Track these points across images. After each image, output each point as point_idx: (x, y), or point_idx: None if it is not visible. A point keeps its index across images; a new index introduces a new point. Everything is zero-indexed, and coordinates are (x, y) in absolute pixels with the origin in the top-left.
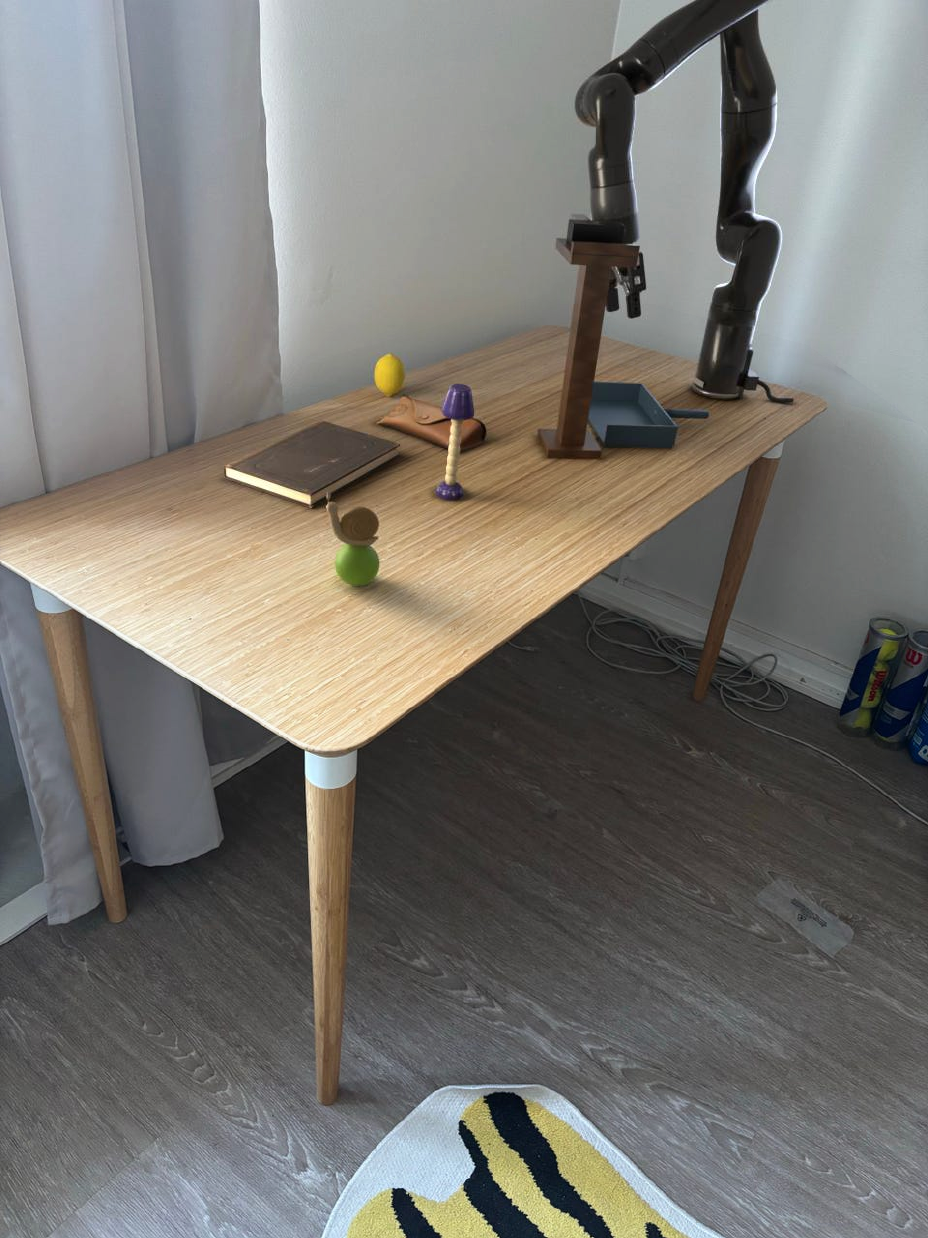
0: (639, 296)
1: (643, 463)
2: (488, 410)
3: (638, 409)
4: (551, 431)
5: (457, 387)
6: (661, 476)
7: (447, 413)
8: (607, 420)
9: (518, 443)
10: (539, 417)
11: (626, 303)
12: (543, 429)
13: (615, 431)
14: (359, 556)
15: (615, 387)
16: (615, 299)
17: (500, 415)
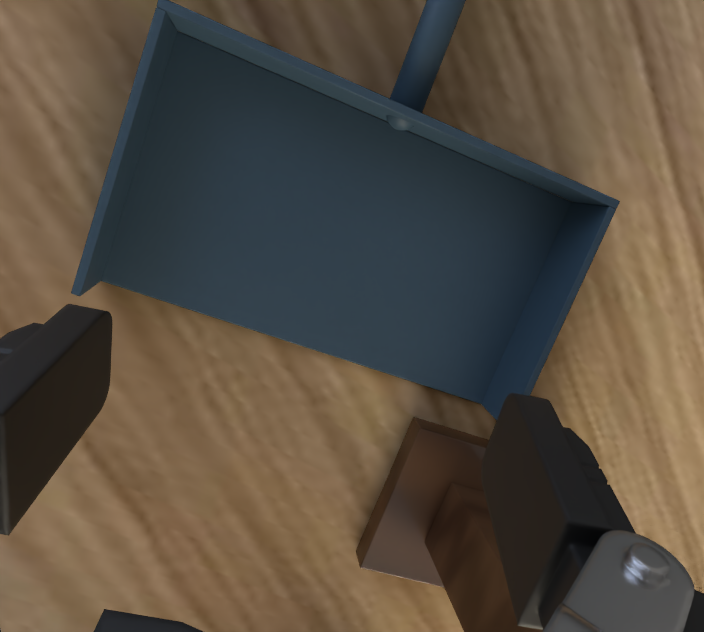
0: (600, 508)
1: (617, 358)
2: (118, 604)
3: (260, 92)
4: (393, 541)
5: None
6: (696, 359)
7: None
8: (325, 286)
9: (379, 614)
10: (216, 479)
11: (505, 564)
12: (372, 556)
13: None
14: None
15: (134, 134)
16: (66, 381)
17: (169, 585)
